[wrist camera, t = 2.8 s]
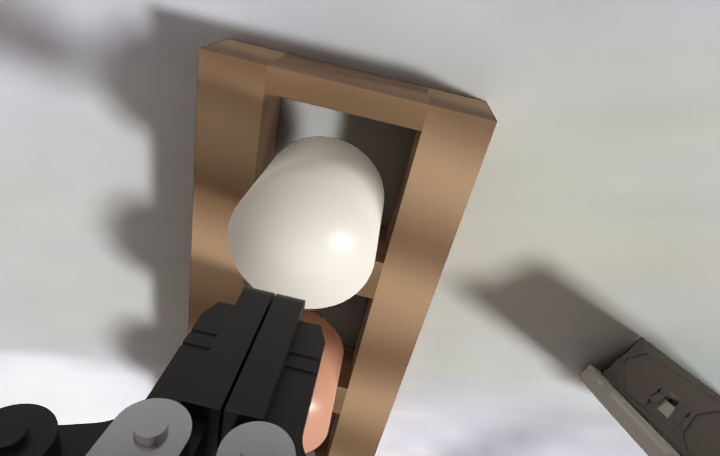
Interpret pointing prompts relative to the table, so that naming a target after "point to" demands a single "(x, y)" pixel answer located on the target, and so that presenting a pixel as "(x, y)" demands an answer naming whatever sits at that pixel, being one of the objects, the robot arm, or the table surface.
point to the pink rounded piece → (323, 384)
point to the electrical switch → (658, 403)
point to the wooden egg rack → (397, 244)
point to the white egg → (310, 223)
